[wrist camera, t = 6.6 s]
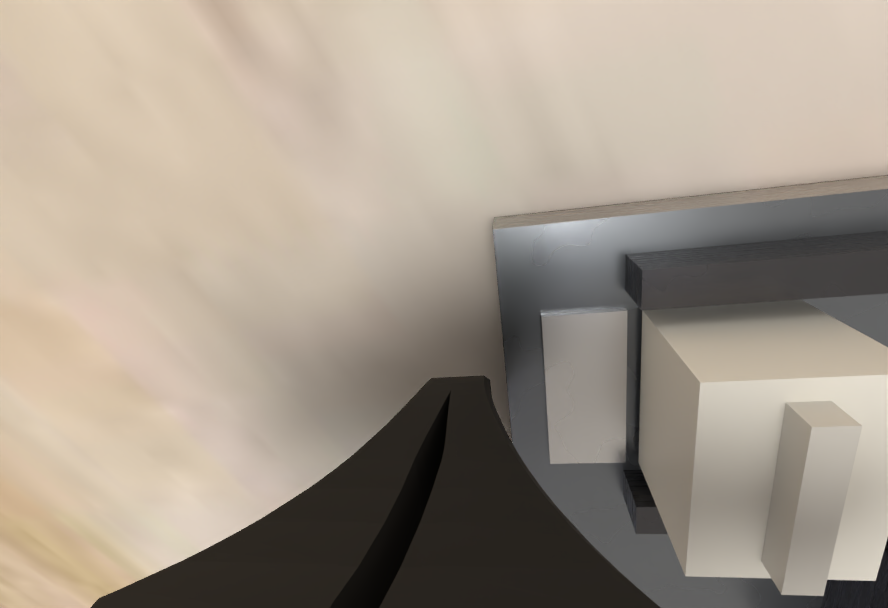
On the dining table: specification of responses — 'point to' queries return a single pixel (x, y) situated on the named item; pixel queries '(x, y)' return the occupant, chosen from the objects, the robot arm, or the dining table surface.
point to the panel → (620, 334)
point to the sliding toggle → (766, 442)
